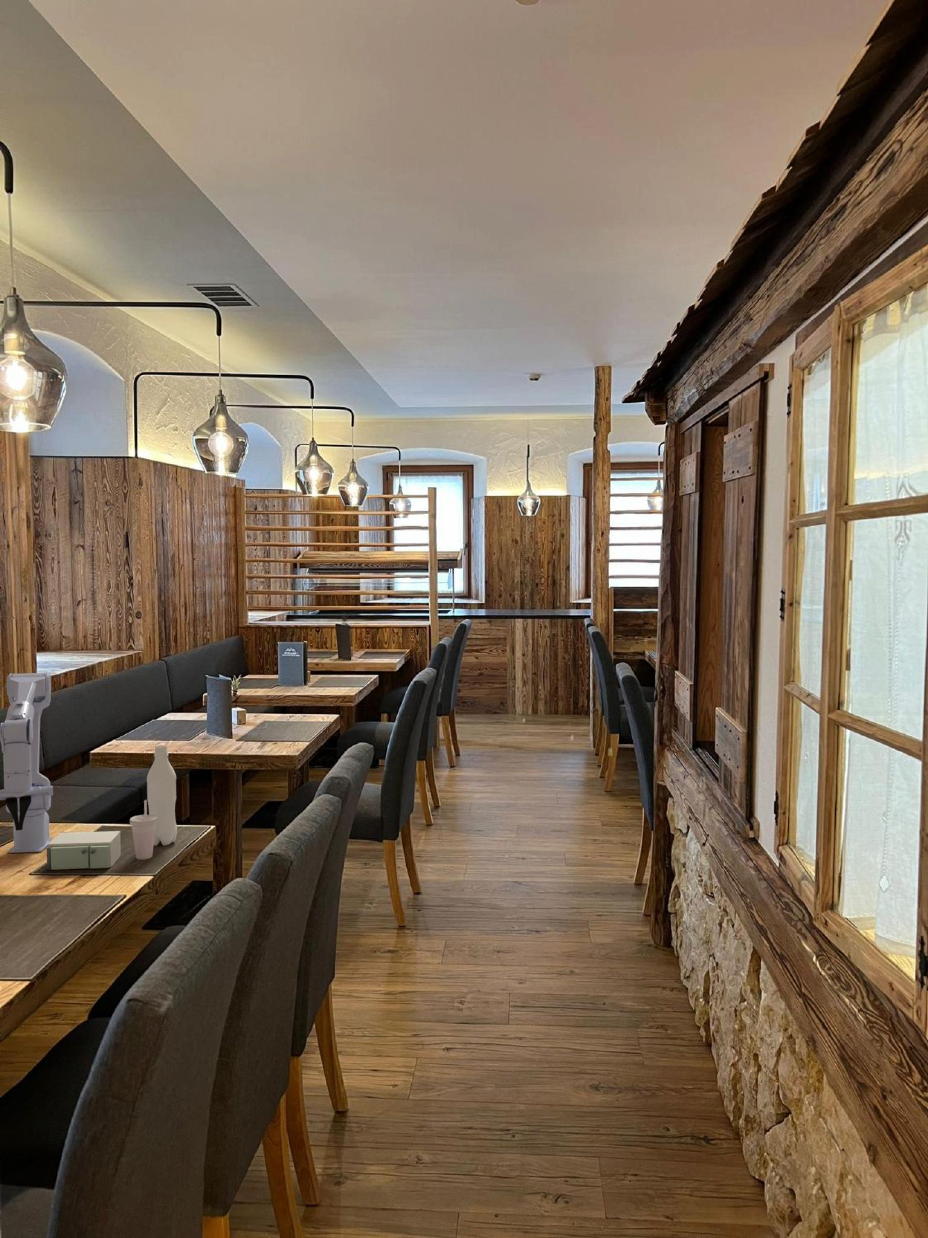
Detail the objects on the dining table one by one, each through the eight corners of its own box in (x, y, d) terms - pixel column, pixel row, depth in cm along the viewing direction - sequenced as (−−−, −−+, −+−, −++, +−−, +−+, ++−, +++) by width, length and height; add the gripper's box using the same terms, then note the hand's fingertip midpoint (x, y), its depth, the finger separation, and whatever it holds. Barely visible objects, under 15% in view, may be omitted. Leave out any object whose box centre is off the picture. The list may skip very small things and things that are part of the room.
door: (48, 868, 210) (47, 847, 210) (89, 866, 212) (89, 845, 211) (45, 871, 208) (44, 850, 208) (87, 869, 210) (86, 848, 209)
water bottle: (183, 841, 232) (181, 745, 231) (160, 849, 226) (158, 750, 225) (164, 837, 236) (163, 742, 235) (141, 844, 230) (140, 747, 229)
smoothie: (149, 862, 216) (148, 804, 215) (124, 860, 217) (123, 803, 217) (163, 853, 222) (162, 797, 222) (139, 852, 224) (138, 796, 223)
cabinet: (61, 857, 220) (60, 832, 219) (120, 855, 221) (120, 831, 221) (45, 873, 208) (44, 847, 208) (108, 870, 210) (107, 845, 210)
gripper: (-19, 778, 201) (-17, 838, 202) (53, 771, 208) (54, 829, 209) (-18, 771, 208) (-17, 829, 208) (51, 765, 214) (52, 821, 215)
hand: (19, 829), depth 209 cm, fingers closed
